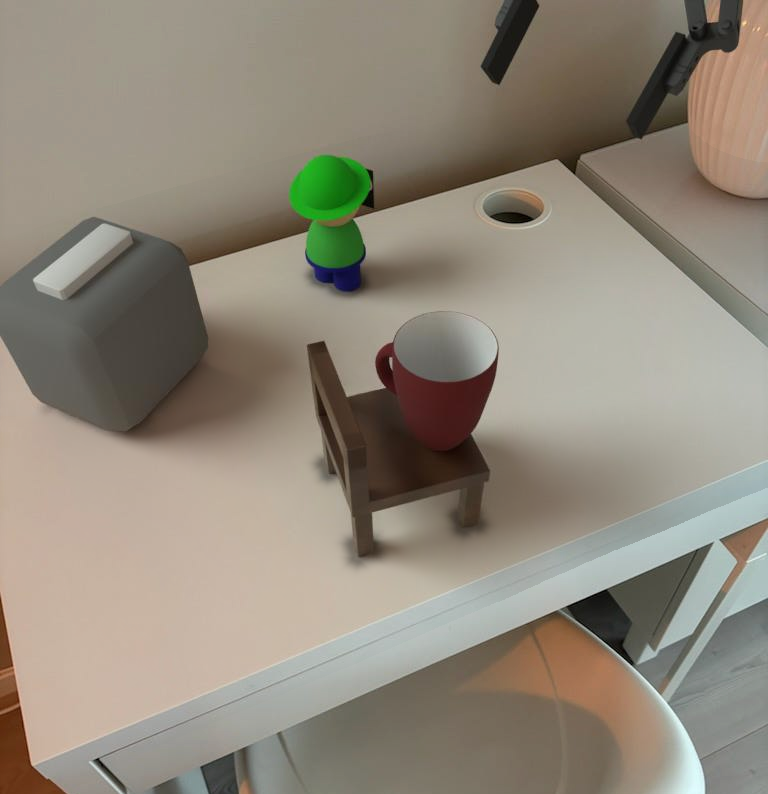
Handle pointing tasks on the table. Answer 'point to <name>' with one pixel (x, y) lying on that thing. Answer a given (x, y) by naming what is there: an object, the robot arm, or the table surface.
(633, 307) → the table surface
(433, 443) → the mug
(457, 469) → the chair
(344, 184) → the toy
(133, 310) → the alarm clock
